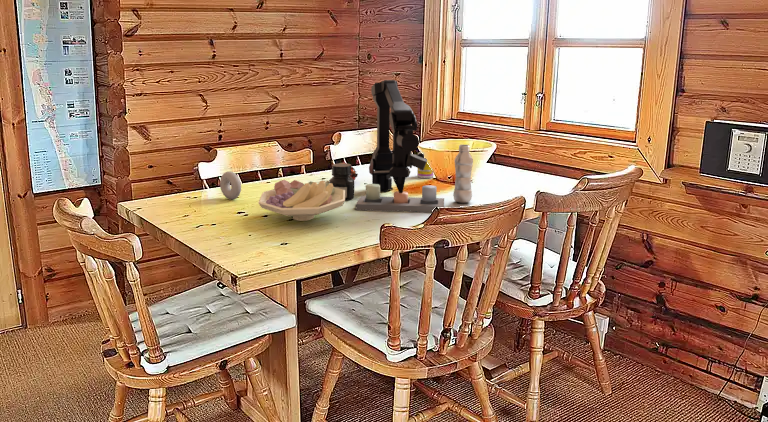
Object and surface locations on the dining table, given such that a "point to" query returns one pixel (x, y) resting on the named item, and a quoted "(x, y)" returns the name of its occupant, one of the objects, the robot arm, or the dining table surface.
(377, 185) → the sage button
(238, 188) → the donut
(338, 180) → the ink bottle
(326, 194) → the dish with food
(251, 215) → the dining table surface
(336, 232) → the dining table surface
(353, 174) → the dragon fruit
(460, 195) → the plastic bottle
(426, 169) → the supplement bottle
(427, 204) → the button panel
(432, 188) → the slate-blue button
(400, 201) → the terracotta button
